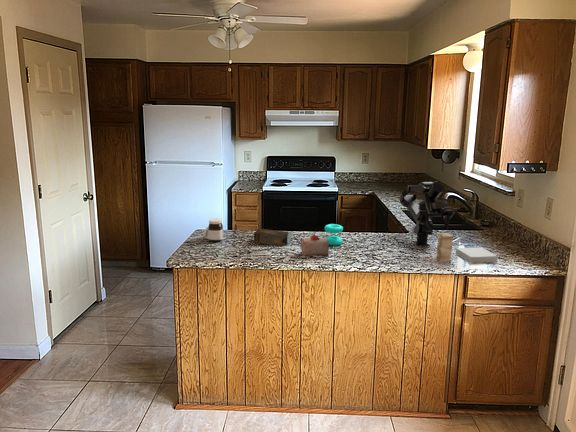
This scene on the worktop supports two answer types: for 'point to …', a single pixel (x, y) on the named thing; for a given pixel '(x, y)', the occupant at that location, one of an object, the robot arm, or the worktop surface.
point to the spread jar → (214, 230)
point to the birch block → (444, 247)
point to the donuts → (334, 229)
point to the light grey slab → (476, 255)
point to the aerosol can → (423, 206)
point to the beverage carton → (272, 237)
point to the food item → (315, 246)
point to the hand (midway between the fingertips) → (439, 229)
